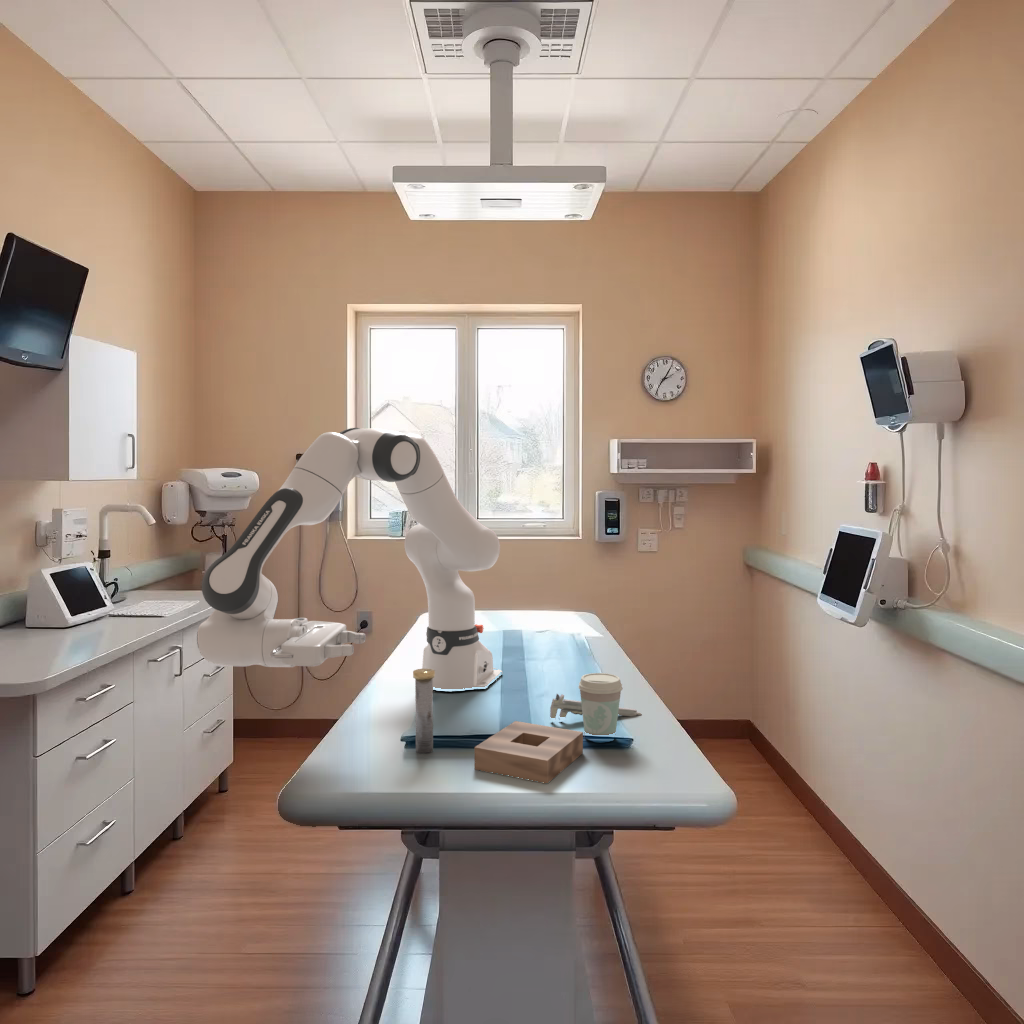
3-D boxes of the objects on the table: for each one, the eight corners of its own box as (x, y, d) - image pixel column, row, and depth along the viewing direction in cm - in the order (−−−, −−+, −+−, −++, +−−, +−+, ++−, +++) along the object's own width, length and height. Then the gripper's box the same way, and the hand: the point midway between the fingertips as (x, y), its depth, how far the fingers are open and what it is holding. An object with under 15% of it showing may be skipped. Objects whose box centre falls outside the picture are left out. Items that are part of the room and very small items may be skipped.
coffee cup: (569, 738, 159) (569, 677, 159) (596, 728, 165) (597, 669, 165) (603, 749, 153) (604, 686, 153) (630, 738, 159) (631, 677, 159)
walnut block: (515, 741, 158) (515, 721, 157) (582, 753, 151) (582, 732, 151) (474, 769, 143) (474, 747, 143) (547, 783, 137) (547, 760, 137)
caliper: (551, 725, 168) (552, 695, 168) (550, 723, 169) (550, 693, 169) (642, 716, 174) (642, 687, 174) (639, 714, 175) (640, 686, 175)
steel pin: (421, 745, 156) (420, 667, 155) (439, 748, 154) (438, 670, 153) (409, 752, 152) (408, 672, 151) (427, 755, 150) (427, 675, 149)
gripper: (266, 638, 142) (344, 639, 142) (301, 615, 163) (370, 616, 162) (266, 674, 143) (345, 675, 142) (302, 647, 163) (371, 648, 162)
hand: (359, 644), depth 152 cm, fingers open, 8 cm apart
